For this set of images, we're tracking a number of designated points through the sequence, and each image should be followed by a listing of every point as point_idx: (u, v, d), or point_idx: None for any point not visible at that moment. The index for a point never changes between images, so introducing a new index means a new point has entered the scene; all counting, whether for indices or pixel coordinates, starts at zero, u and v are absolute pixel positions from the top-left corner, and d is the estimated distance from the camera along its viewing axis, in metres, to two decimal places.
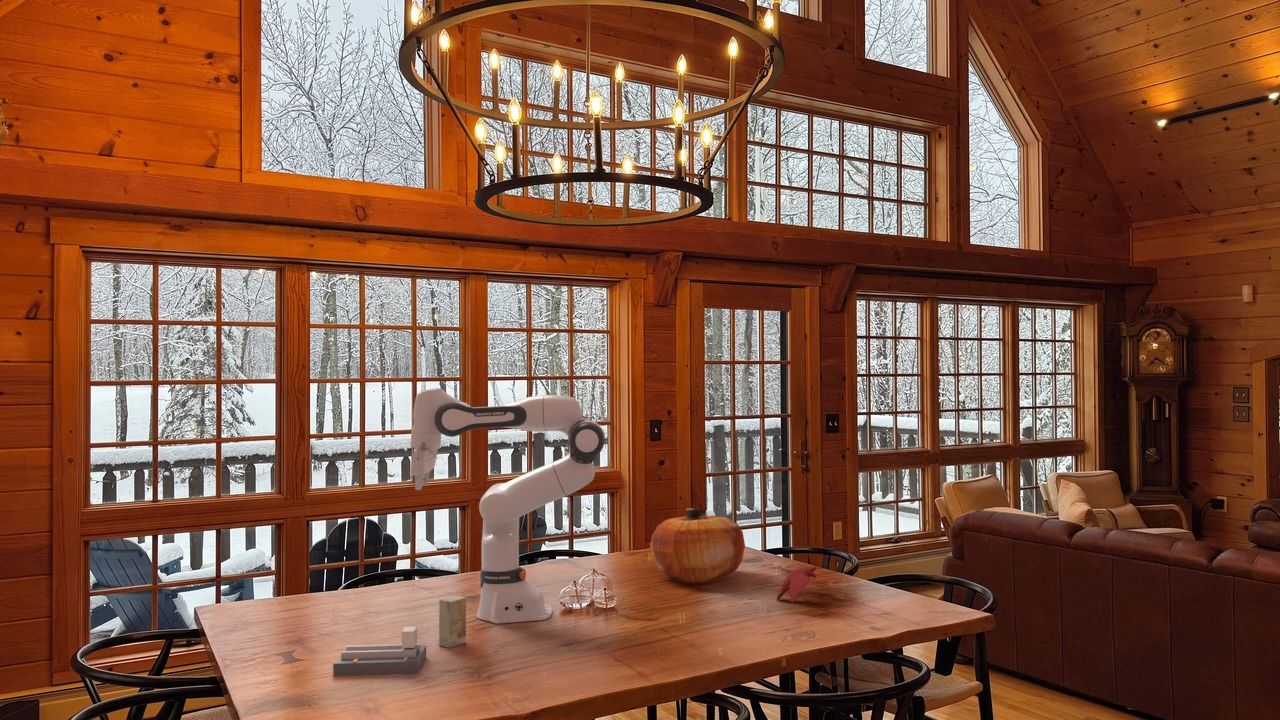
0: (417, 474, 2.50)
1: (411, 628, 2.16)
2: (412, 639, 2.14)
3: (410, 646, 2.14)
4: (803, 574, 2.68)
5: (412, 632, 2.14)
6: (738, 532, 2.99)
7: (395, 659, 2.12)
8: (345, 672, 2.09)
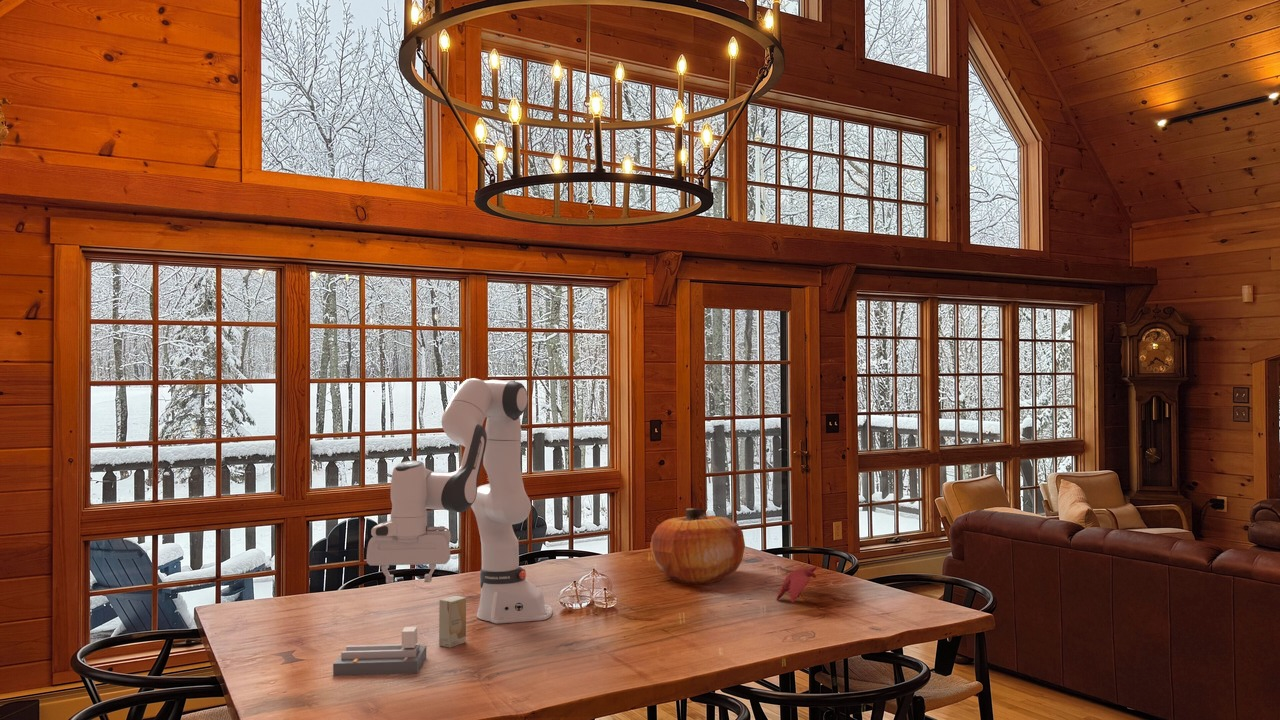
0: (448, 560, 2.17)
1: (411, 628, 2.16)
2: (412, 639, 2.14)
3: (410, 646, 2.14)
4: (803, 574, 2.68)
5: (412, 632, 2.14)
6: (738, 532, 2.99)
7: (395, 659, 2.12)
8: (345, 672, 2.09)
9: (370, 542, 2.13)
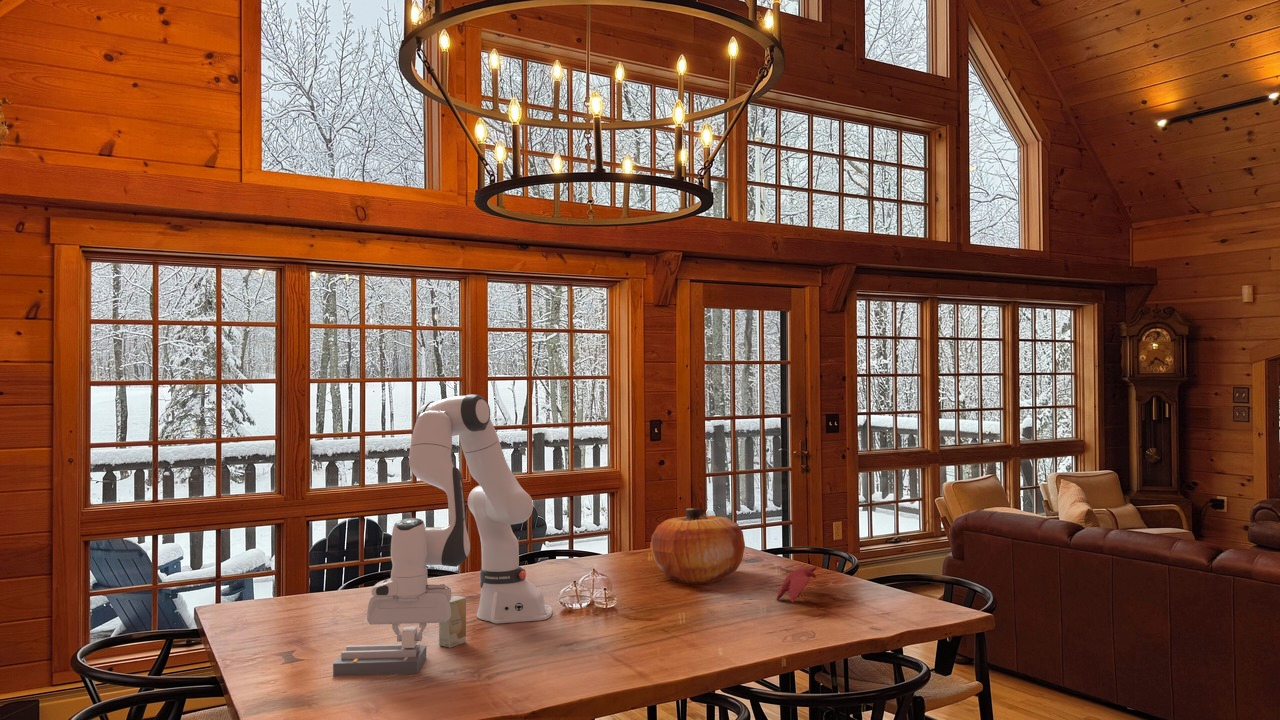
0: None
1: (411, 628, 2.16)
2: (412, 639, 2.14)
3: (410, 646, 2.14)
4: (803, 574, 2.68)
5: (412, 632, 2.14)
6: (738, 532, 2.99)
7: (395, 659, 2.12)
8: (345, 672, 2.09)
9: (370, 601, 2.13)
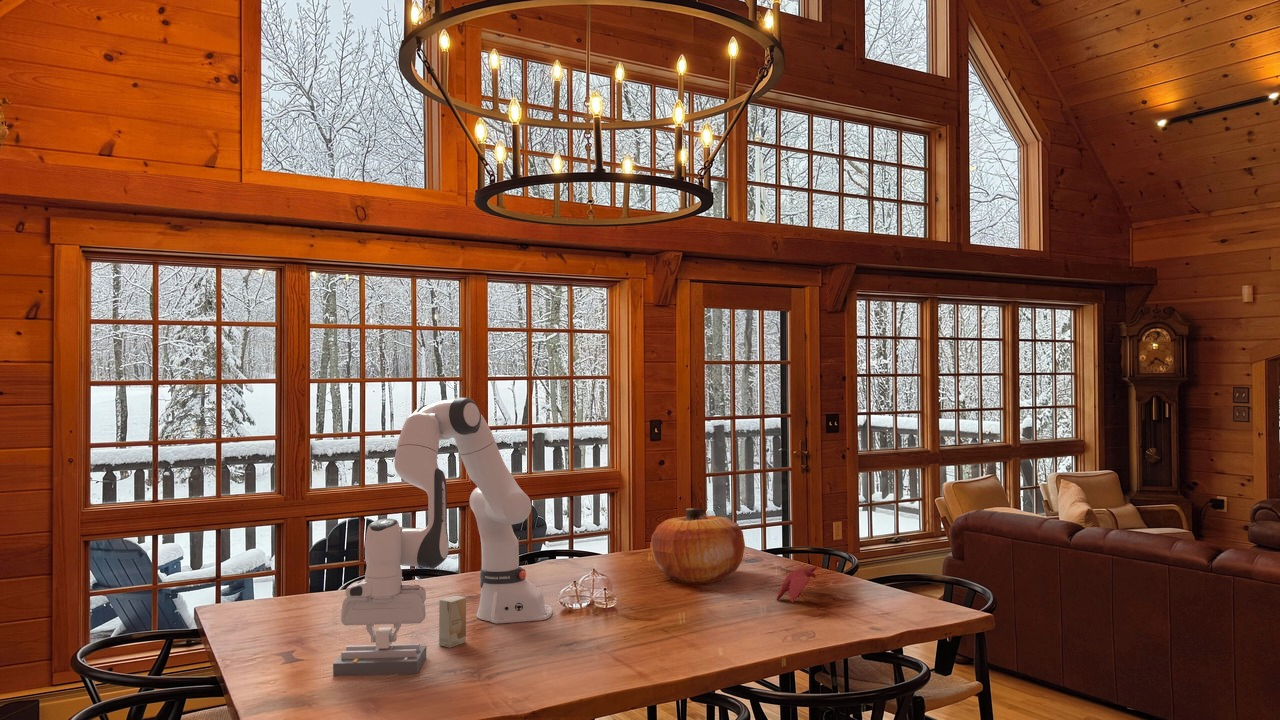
0: (423, 619, 2.16)
1: (385, 629, 2.16)
2: (386, 640, 2.13)
3: (384, 647, 2.13)
4: (803, 574, 2.68)
5: (386, 633, 2.13)
6: (738, 532, 2.99)
7: (395, 659, 2.12)
8: (345, 672, 2.09)
9: (344, 602, 2.13)
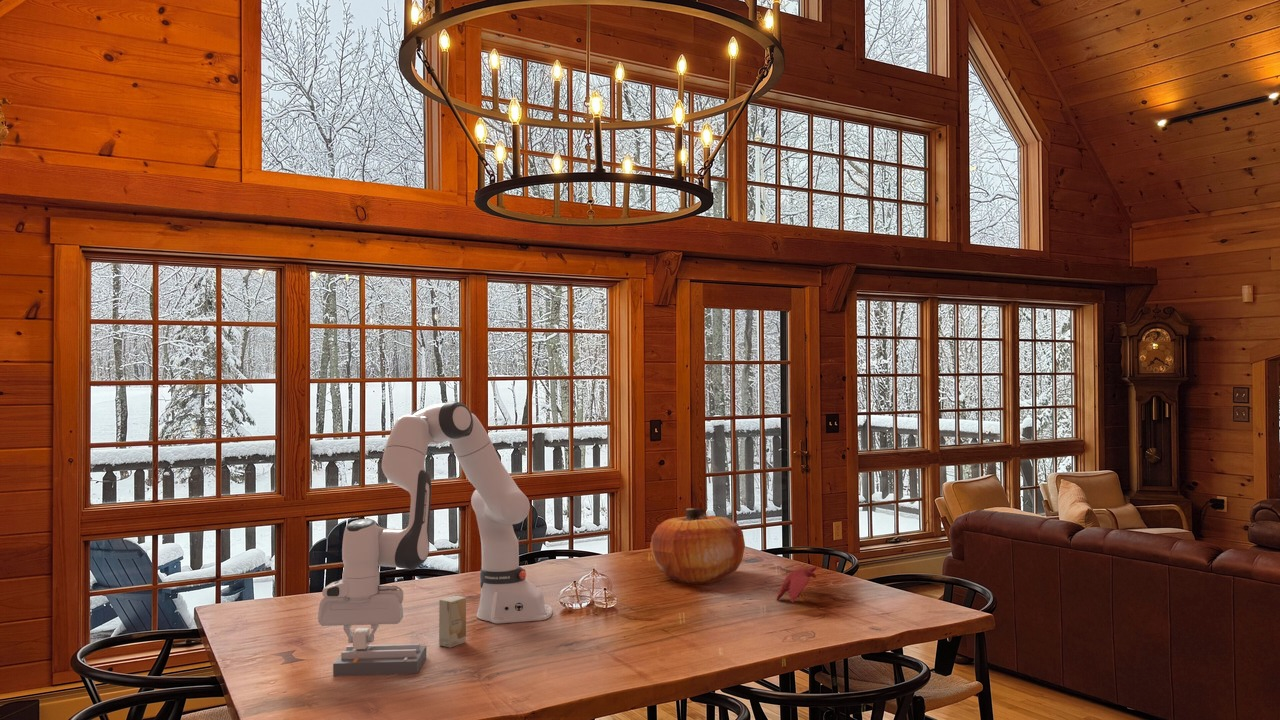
0: None
1: (363, 629, 2.16)
2: (363, 640, 2.13)
3: (361, 647, 2.13)
4: (803, 574, 2.68)
5: (363, 633, 2.13)
6: (738, 532, 2.99)
7: (395, 659, 2.12)
8: (345, 672, 2.09)
9: (321, 603, 2.12)
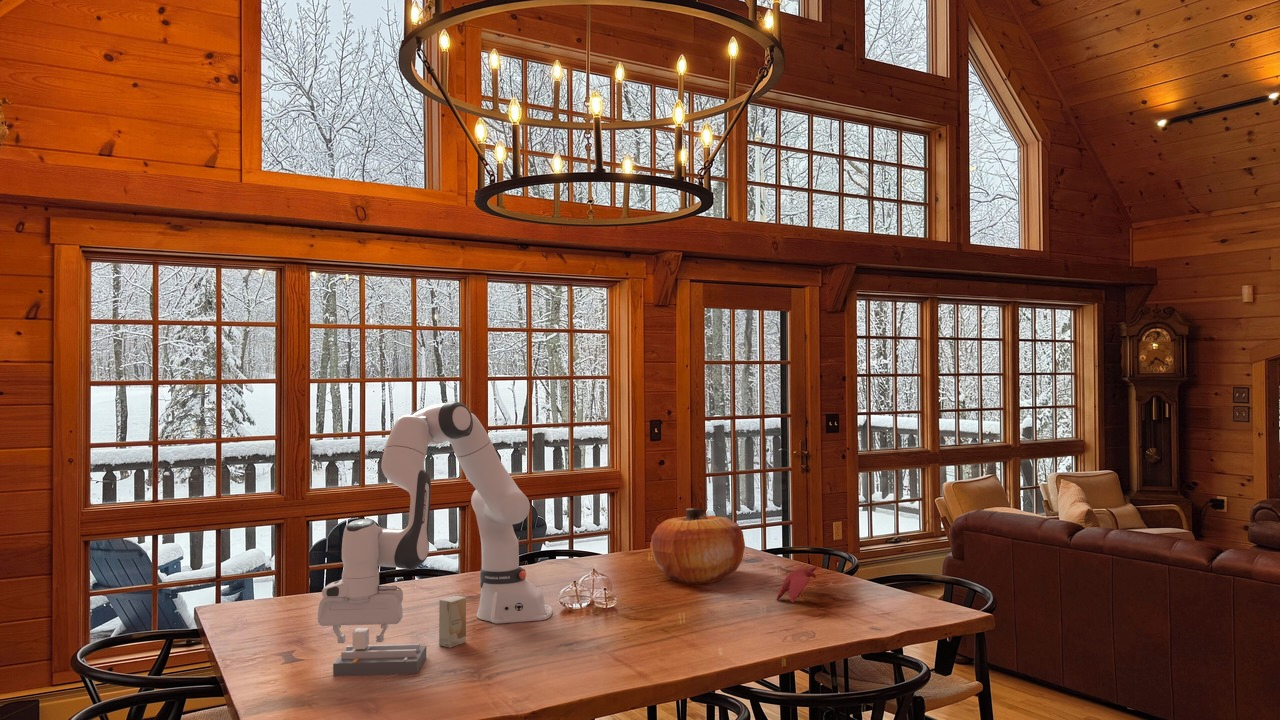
0: None
1: (362, 629, 2.16)
2: (363, 640, 2.13)
3: (361, 647, 2.13)
4: (803, 574, 2.68)
5: (363, 633, 2.13)
6: (738, 532, 2.99)
7: (395, 659, 2.12)
8: (345, 672, 2.09)
9: (321, 603, 2.12)
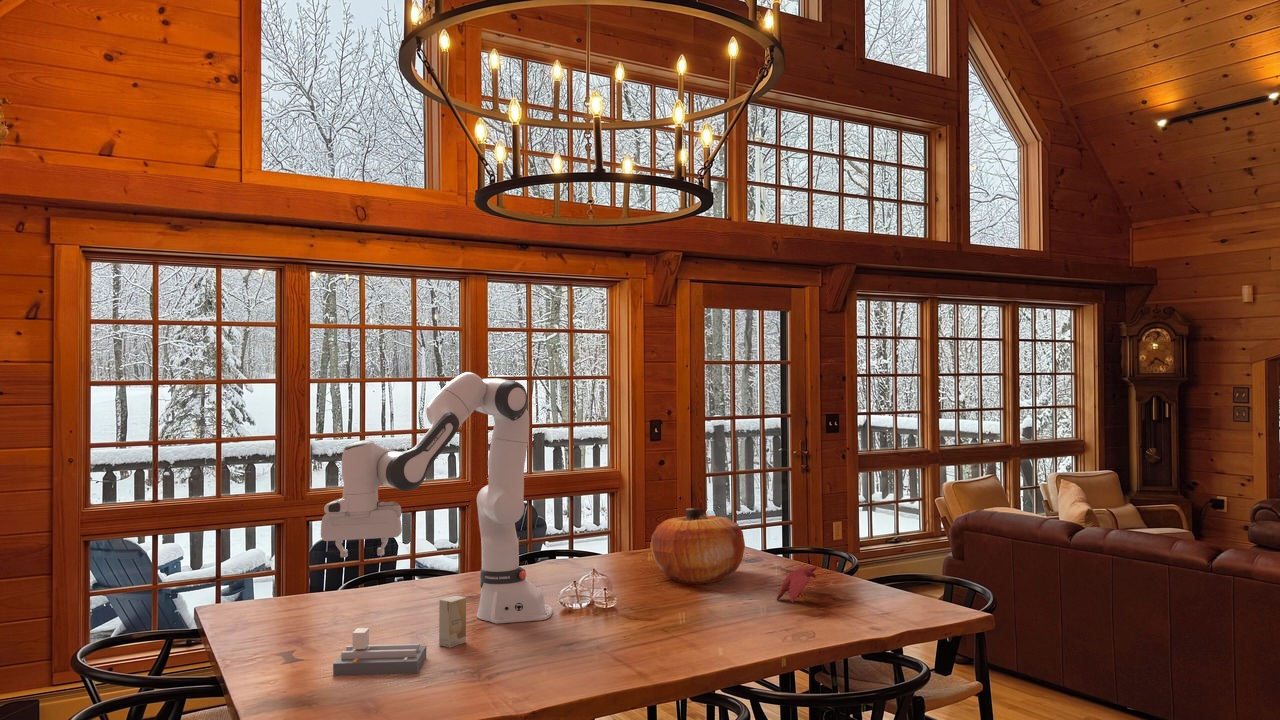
0: None
1: (362, 629, 2.16)
2: (363, 640, 2.13)
3: (361, 647, 2.13)
4: (803, 574, 2.68)
5: (363, 633, 2.13)
6: (738, 532, 2.99)
7: (395, 659, 2.12)
8: (345, 672, 2.09)
9: (323, 519, 2.23)
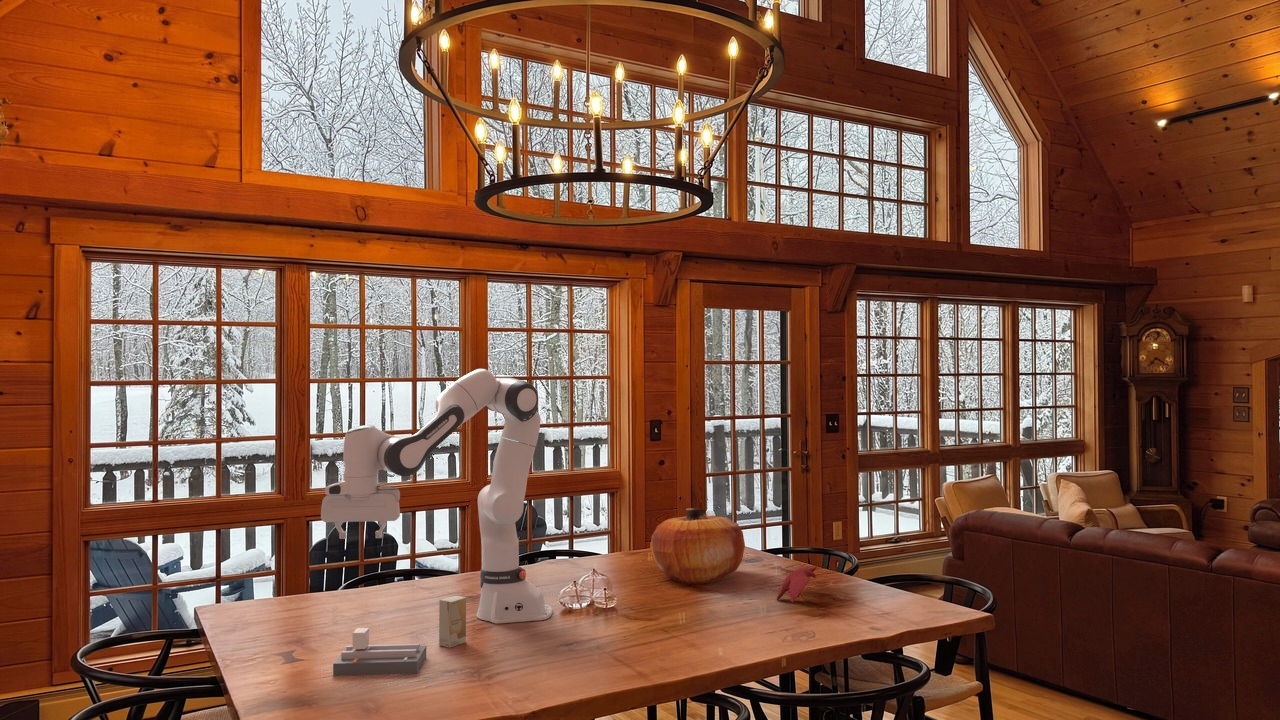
0: None
1: (362, 629, 2.16)
2: (363, 640, 2.13)
3: (361, 647, 2.13)
4: (803, 574, 2.68)
5: (363, 633, 2.13)
6: (738, 532, 2.99)
7: (395, 659, 2.12)
8: (345, 672, 2.09)
9: (324, 500, 2.28)
